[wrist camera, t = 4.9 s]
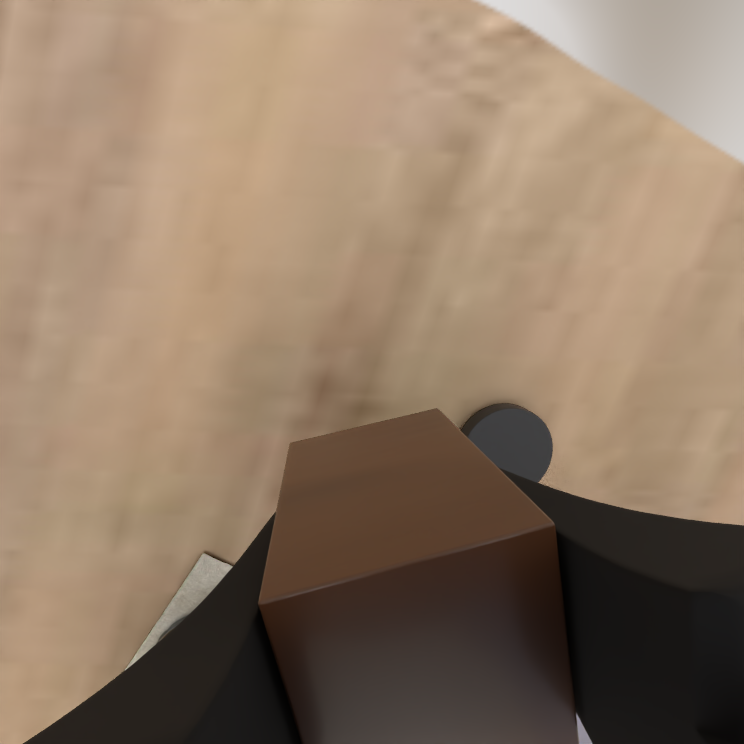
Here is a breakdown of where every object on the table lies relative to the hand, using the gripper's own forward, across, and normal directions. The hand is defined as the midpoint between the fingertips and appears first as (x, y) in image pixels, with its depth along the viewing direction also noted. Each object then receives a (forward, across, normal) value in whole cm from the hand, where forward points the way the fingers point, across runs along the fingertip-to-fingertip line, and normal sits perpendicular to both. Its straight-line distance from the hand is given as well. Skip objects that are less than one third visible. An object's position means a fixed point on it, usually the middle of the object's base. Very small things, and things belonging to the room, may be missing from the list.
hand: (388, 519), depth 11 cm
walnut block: (+1, 0, 0) cm, 1 cm away
